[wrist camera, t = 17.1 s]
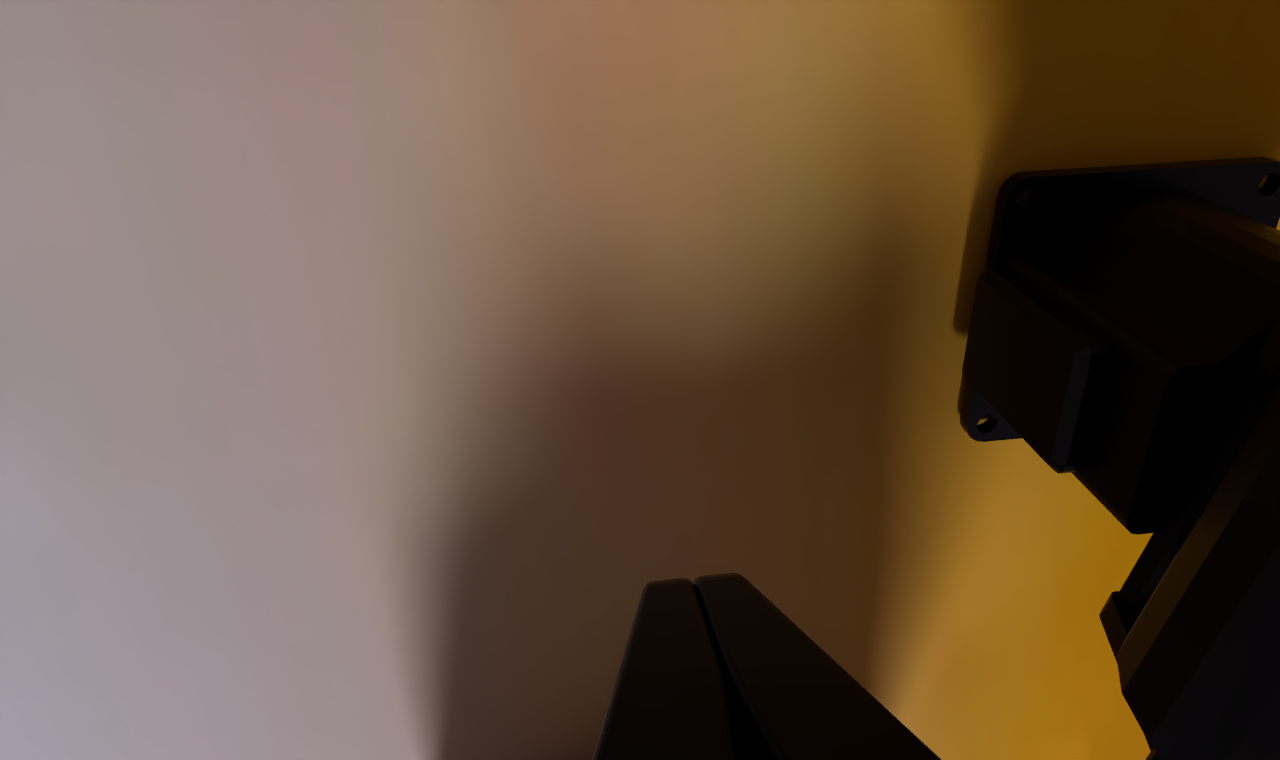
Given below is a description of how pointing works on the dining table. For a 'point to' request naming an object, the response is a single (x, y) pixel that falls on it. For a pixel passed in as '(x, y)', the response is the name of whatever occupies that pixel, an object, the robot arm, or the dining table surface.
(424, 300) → the dining table surface
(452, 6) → the dining table surface
